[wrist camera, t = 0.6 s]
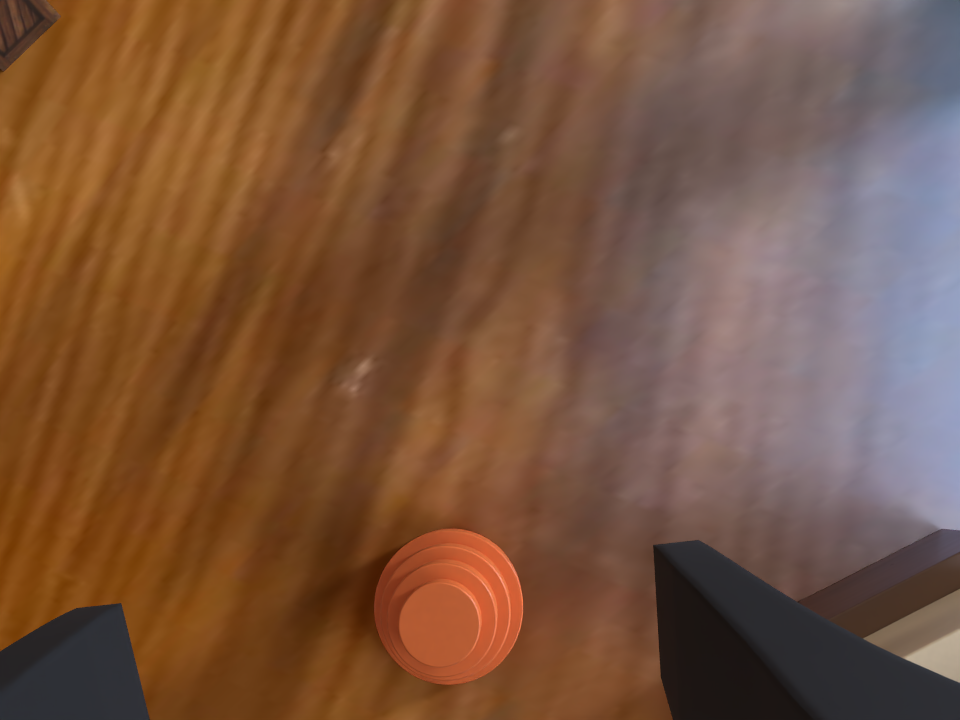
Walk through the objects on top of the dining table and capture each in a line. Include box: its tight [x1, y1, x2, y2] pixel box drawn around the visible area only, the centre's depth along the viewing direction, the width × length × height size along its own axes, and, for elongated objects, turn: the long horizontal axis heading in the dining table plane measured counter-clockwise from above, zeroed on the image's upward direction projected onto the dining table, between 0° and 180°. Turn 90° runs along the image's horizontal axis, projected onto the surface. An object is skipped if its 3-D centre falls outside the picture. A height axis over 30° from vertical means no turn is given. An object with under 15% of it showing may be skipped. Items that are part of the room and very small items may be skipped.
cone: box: [374, 528, 523, 685], centre depth 29 cm, size 5×5×6 cm
